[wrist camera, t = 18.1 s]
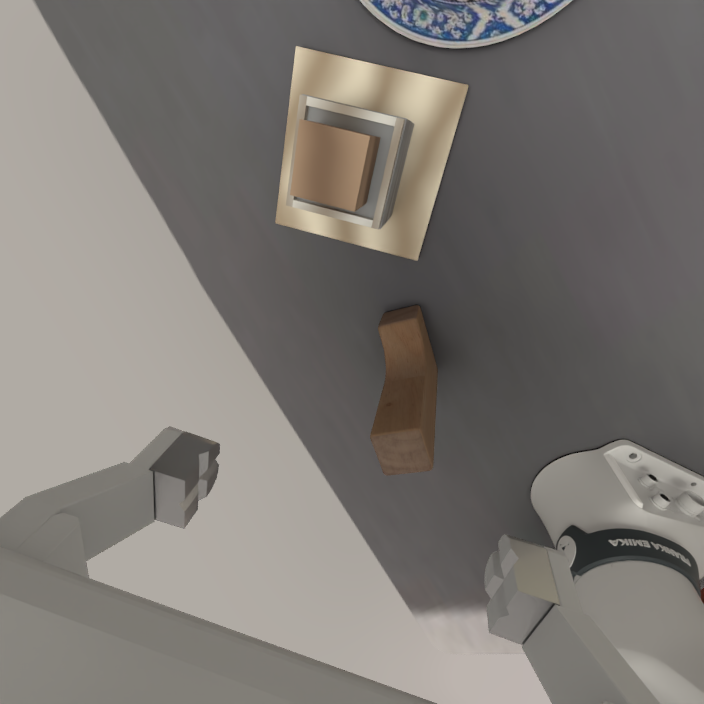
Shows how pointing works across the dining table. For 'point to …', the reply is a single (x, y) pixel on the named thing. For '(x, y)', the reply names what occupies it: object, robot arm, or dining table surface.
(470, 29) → the ceramic plate
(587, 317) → the dining table surface
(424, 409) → the wooden block
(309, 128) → the walnut cube
